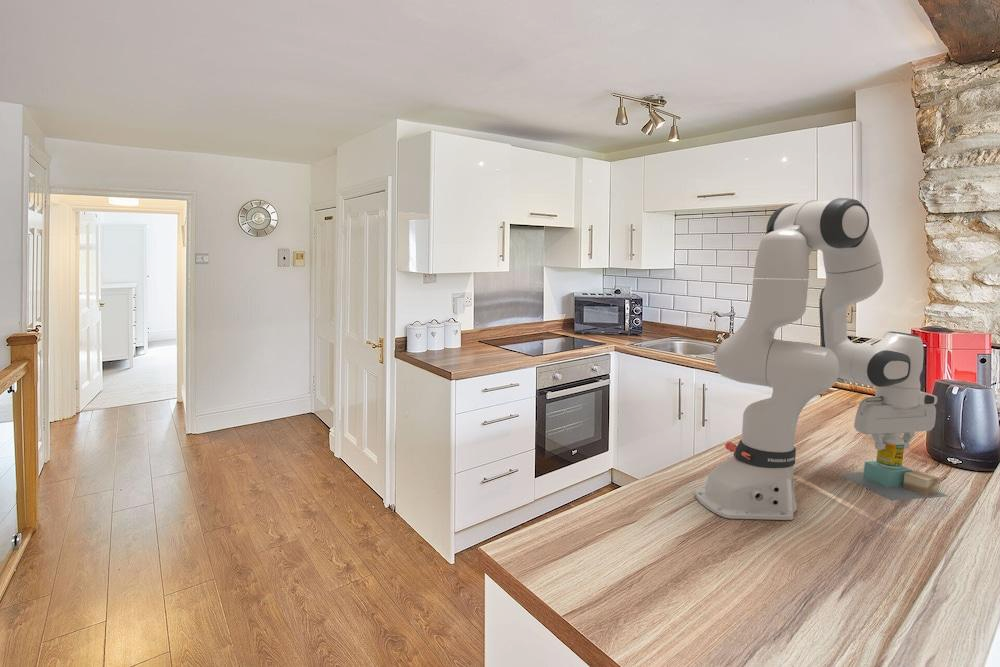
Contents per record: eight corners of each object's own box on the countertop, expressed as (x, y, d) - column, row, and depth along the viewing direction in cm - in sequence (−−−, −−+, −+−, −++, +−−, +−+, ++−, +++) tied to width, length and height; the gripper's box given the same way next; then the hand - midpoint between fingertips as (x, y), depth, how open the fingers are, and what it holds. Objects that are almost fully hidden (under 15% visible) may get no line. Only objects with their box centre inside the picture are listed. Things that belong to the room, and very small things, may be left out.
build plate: (890, 505, 123) (891, 500, 123) (837, 478, 139) (837, 473, 138) (948, 500, 125) (949, 496, 125) (889, 474, 141) (890, 470, 141)
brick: (925, 496, 125) (927, 480, 125) (902, 488, 130) (904, 472, 129) (938, 492, 127) (940, 477, 126) (915, 485, 132) (917, 469, 131)
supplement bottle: (881, 460, 137) (885, 425, 136) (905, 466, 133) (909, 430, 132) (872, 464, 135) (875, 428, 133) (896, 471, 130) (900, 434, 129)
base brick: (887, 487, 130) (888, 471, 130) (863, 476, 137) (864, 461, 136) (911, 485, 131) (912, 470, 131) (886, 474, 138) (887, 460, 138)
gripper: (871, 400, 126) (866, 455, 128) (943, 397, 130) (937, 450, 131) (850, 394, 133) (845, 446, 134) (919, 391, 136) (914, 442, 138)
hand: (891, 448), depth 133 cm, fingers closed on supplement bottle, 5 cm apart
